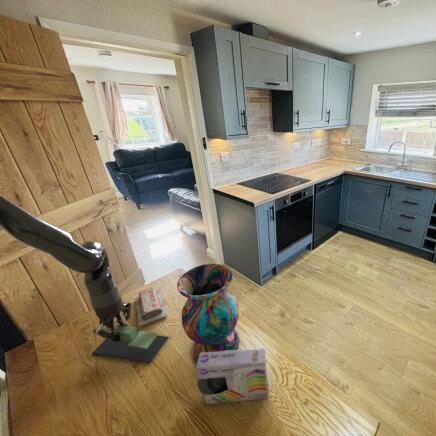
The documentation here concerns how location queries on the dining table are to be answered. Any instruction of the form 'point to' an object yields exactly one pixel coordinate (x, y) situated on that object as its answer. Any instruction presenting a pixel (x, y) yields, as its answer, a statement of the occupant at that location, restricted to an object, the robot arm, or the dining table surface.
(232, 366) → the cake pan box
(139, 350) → the mat
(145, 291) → the packaged product
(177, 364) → the dining table surface
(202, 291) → the vase
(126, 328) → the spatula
